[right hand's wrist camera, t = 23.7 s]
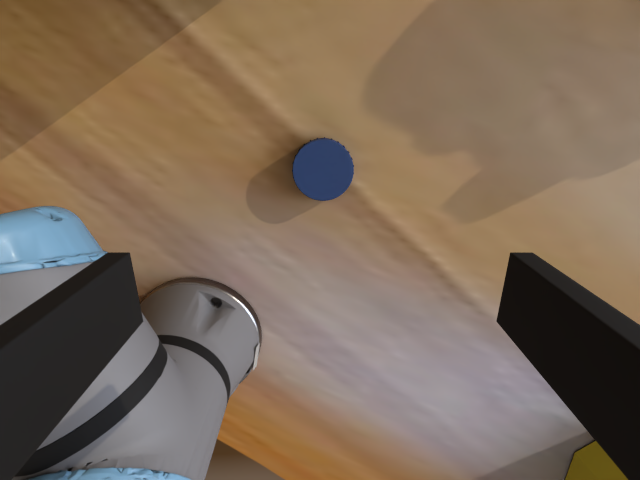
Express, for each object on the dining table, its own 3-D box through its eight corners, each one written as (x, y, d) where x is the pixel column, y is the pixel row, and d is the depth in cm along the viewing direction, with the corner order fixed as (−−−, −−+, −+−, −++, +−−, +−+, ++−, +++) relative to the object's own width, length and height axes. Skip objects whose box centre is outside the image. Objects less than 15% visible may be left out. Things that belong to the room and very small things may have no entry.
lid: (282, 152, 36) (281, 155, 35) (338, 126, 35) (339, 127, 34) (308, 206, 38) (307, 210, 37) (361, 183, 37) (363, 186, 36)
